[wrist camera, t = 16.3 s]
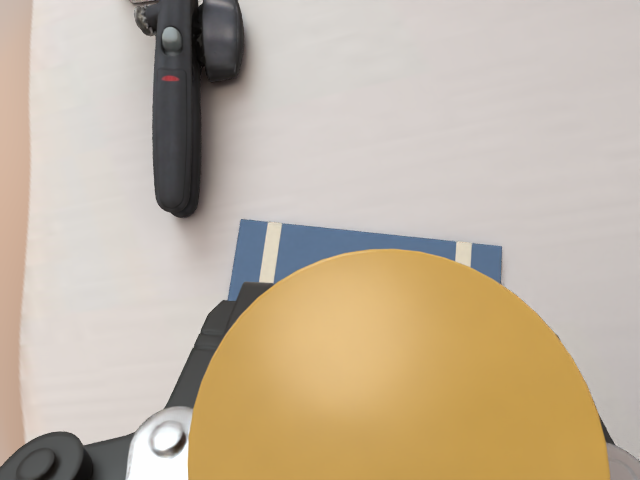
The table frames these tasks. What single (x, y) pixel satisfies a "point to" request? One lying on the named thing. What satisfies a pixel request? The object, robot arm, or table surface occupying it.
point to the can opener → (186, 87)
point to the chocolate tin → (393, 381)
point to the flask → (135, 0)
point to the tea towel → (335, 250)
